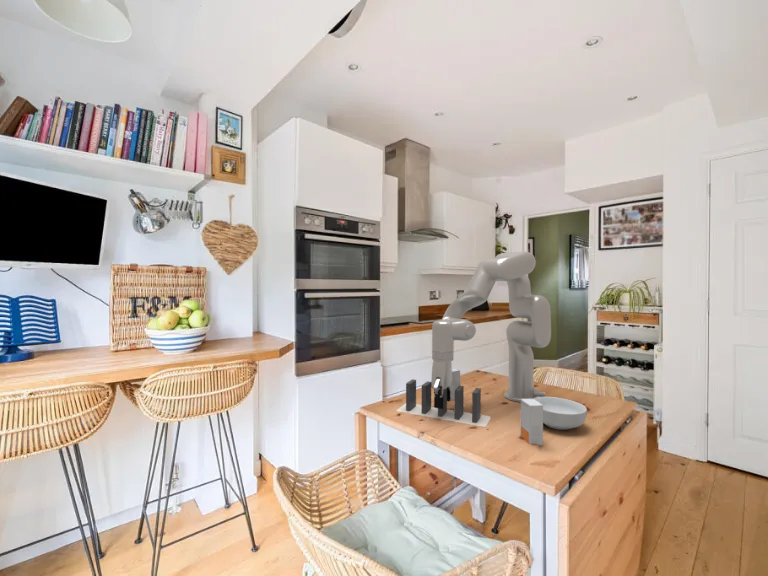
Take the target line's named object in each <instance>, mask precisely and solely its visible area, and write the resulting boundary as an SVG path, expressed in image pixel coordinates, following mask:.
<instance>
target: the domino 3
mask: <svg viewBox="0 0 768 576" xmlns="http://www.w3.org/2000/svg"><path fill="white" fill-rule="evenodd" d="M439 388H442V387H439ZM438 391H440V393H441V390H438ZM443 397H444V400H443V409H439V408H438V416H440V417H443V415H444V414H445V413H446V412H447V409H448V401H447V388H446V389H444V391H443Z"/></svg>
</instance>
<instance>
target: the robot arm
mask: <svg viewBox="0 0 768 576" xmlns="http://www.w3.org/2000/svg"><path fill="white" fill-rule="evenodd" d="M536 265H537V262H536V258H535V256H534V254H532V253H531V252H530V251H529V252H528V251H515V252H505V253H504V252H503V253H500V254H497V255H496V256H495V257H493V258H488V259H483V260H481V261H480V262H479V263H478V265H477V267H476V269H475V271H474V272H473V275H472V278H471V279H470V281H469V283H468V285H467V287H466V289H465V291H464V292H462V293H461V294H460V295H459V296H458V297H457V298H455V299H454V300H453V301H451V303H450V304H449V305H448V307H447V309H446V310H445V312H444V314H443V316H442V318H441V319H440V320H439V319H438V320H435V321H433V322H432V324H431V326H432V329H431V331H432V332H431V336H432V337H431V344H432V345H431V348H432V349H431V360H432V361H433V362H432V368H431V381H430V382H431V389H433V407H434V408H439V409H443V400H444V397H443V391H444V389H446V388H447V402H451V399H450V391H451V390H450V389H451V387H450V384H451V382H452V361H454V355H455V354H454V349H455V348H454V341H460V342H461V341H462V342H467V341H470V340H472V339H473V338H474V337H475V335H476V332H477V329H476V325H475V324H474V322H473V321H470V320H468V319H462V317H463V316H464V315H465V313H467V312H468V311H469V310H472V309H474V308H476V307H479V306H481V305H483V304H484V303H486V302H487V300H488V298H489V297H490V293H491V292H492V290H493V289H494V286H495V284H496V282H507V288H508V291H507V292H508V307H509V308H508V309H509V312H510V315H512V316H513V317H515V318H519V319H520V318H521V319H528V320H531V321H527V320H514V321H511V322H509V324H508V325H507V328H506V340H507V345H508V346H507V347H508V390H507V391H505V392H504V398H506V399H507V400H509V401H513V402H517V403H521V399H534V398H537V397H546V392H543V390H537V389H536V388H535V386H534V361H535V360H534V358H535V357H534V351H533V350H532V347H534V348H537V349H538V348H539V349H541V348H546V347H547V346H548V345H549V344H550V342H551V338H552V319H551V317H552V316H551V315H552V314H551V305H550V302H549V301H548V299H547V298H546V297H545V296H543V295H539V294H538V295H537V294H532V290H531V288H532V287H531V281H530V279H529V276H528V275H529V274H531V273H532V272H533V270H534V269H535V268H536ZM439 387H442V388H439ZM438 390H441V393H440V391H438Z"/></svg>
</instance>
